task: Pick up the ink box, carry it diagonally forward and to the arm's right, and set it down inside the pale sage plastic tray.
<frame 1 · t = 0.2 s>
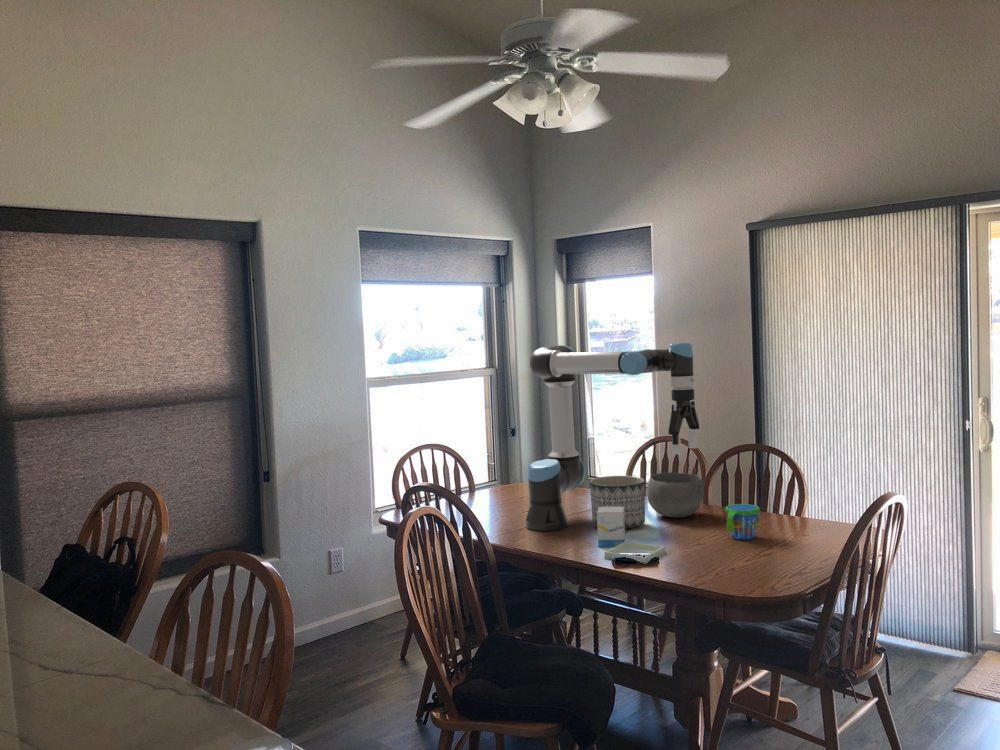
hand: (685, 451, 279), 28 cm above the table, fingers open, 13 cm apart
tray: (635, 555, 255), on the table
ink box: (611, 544, 270), on the table
snack cup: (743, 538, 269), on the table
planter: (619, 527, 293), on the table
bowl: (676, 517, 304), on the table
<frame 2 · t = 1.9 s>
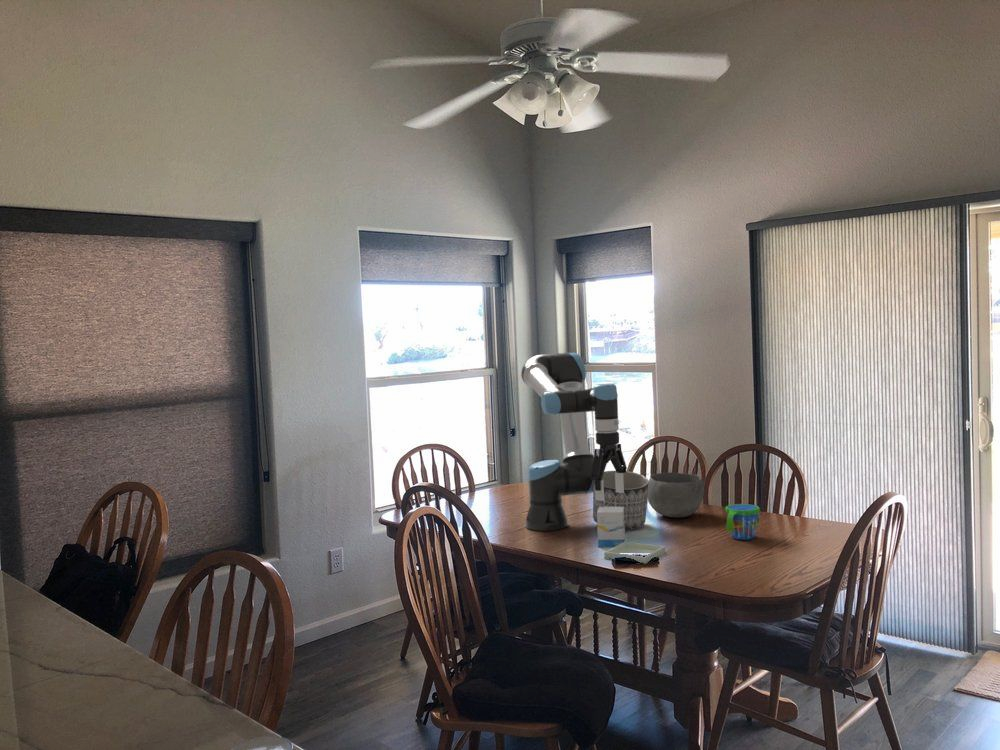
hand: (610, 496, 269), 16 cm above the table, fingers open, 13 cm apart
planter: (618, 524, 293), point 1 cm above the table, touching arm
everything else where it was.
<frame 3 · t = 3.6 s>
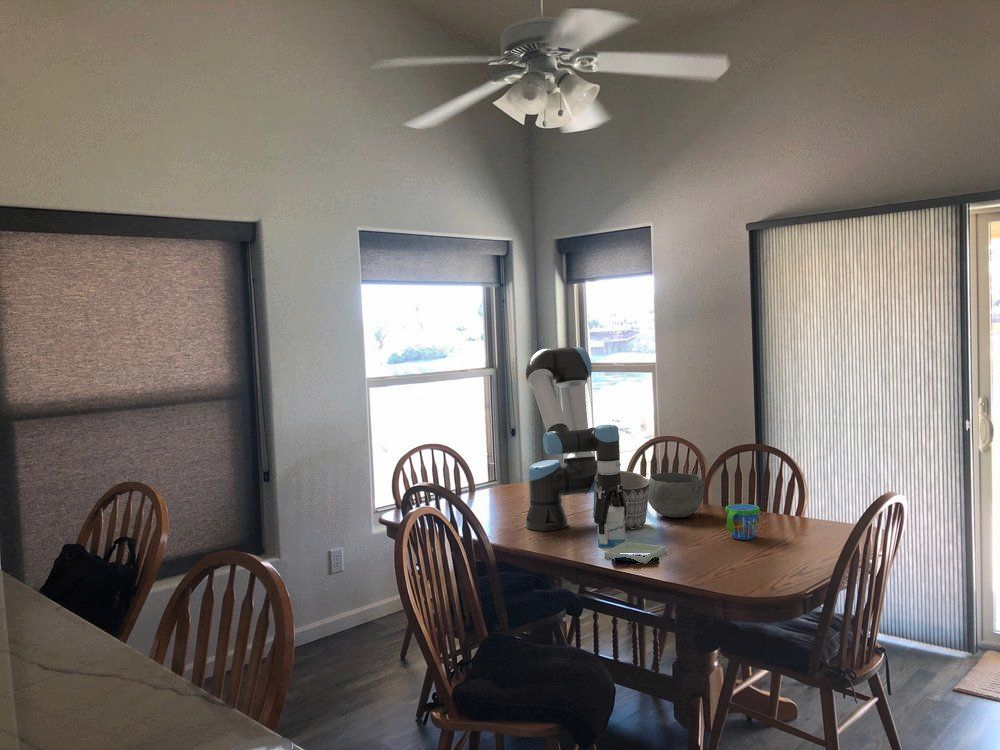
hand: (612, 539, 270), 1 cm above the table, fingers closed on ink box, 10 cm apart
ink box: (612, 544, 270), on the table, touching gripper
everything else where it was.
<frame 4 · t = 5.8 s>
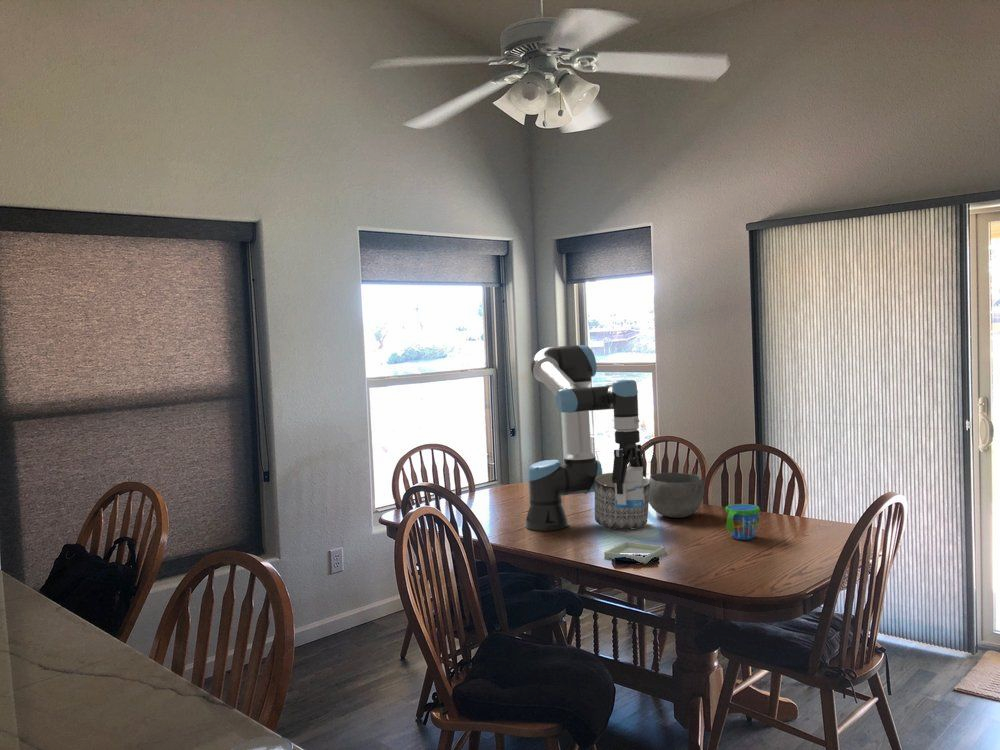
hand: (630, 501, 256), 17 cm above the table, fingers closed on ink box, 10 cm apart
ink box: (630, 506, 256), point 15 cm above the table, touching gripper
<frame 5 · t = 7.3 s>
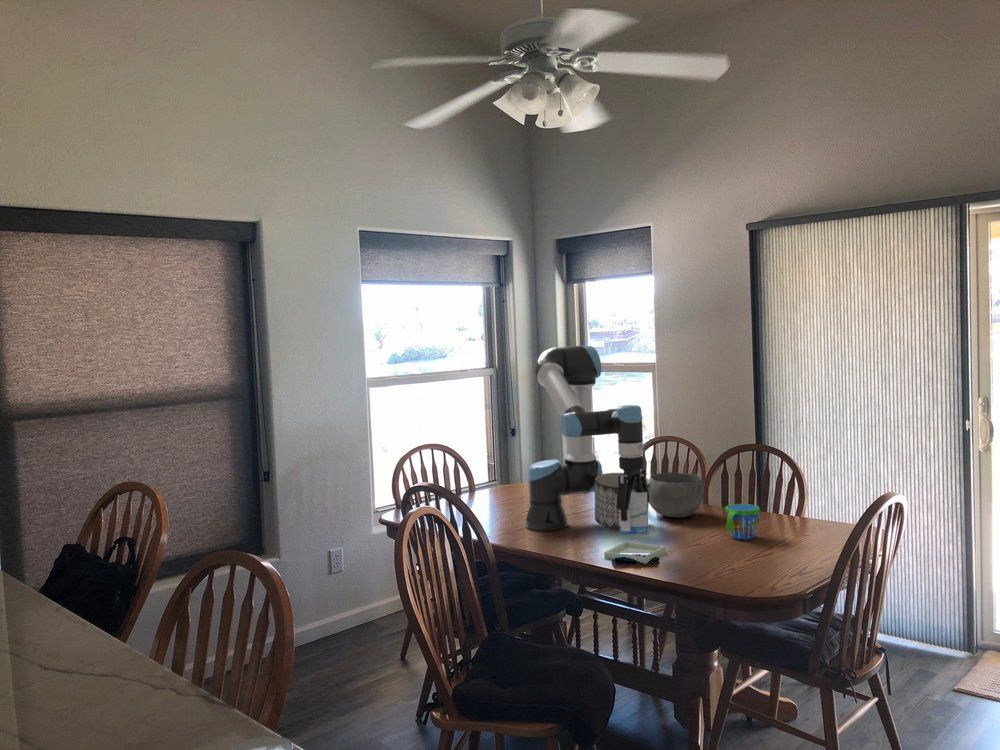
hand: (634, 527, 254), 9 cm above the table, fingers closed on ink box, 10 cm apart
ink box: (634, 532, 254), point 7 cm above the table, touching gripper
when the fingers open (4 cm above the table, at t = 8.8 s): ink box drops 2 cm, resting on tray.
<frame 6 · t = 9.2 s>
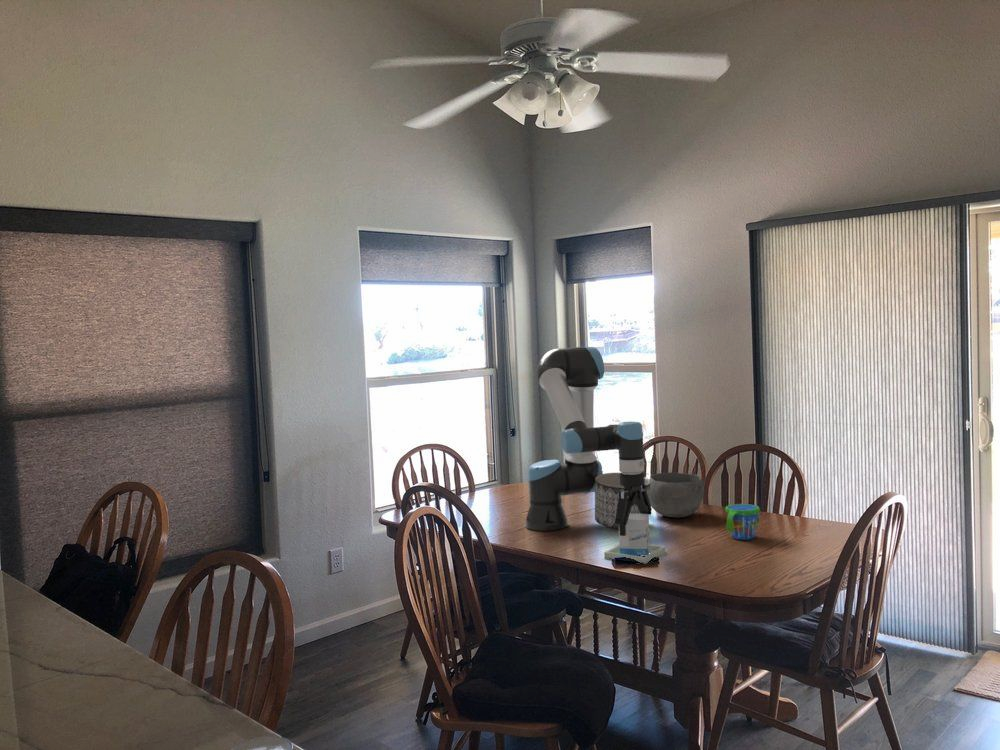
hand: (634, 540, 255), 5 cm above the table, fingers open, 13 cm apart
ink box: (635, 554, 255), resting on tray
everything else where it was.
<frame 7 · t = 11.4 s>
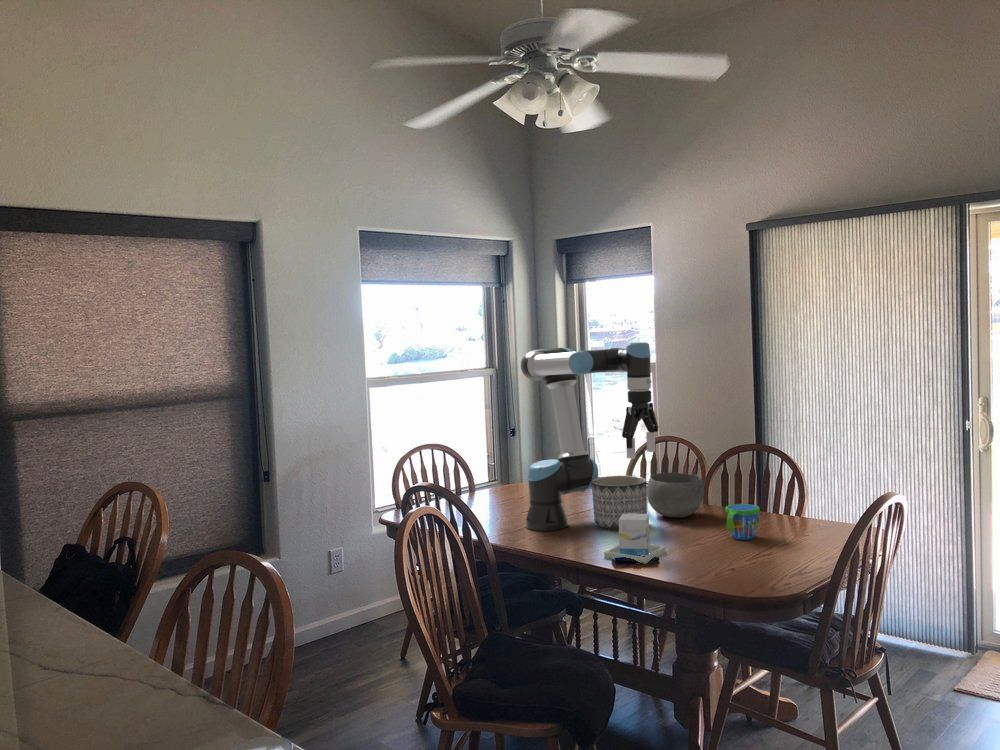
hand: (641, 455, 269), 29 cm above the table, fingers open, 13 cm apart
planter: (620, 526, 293), on the table
everything else where it was.
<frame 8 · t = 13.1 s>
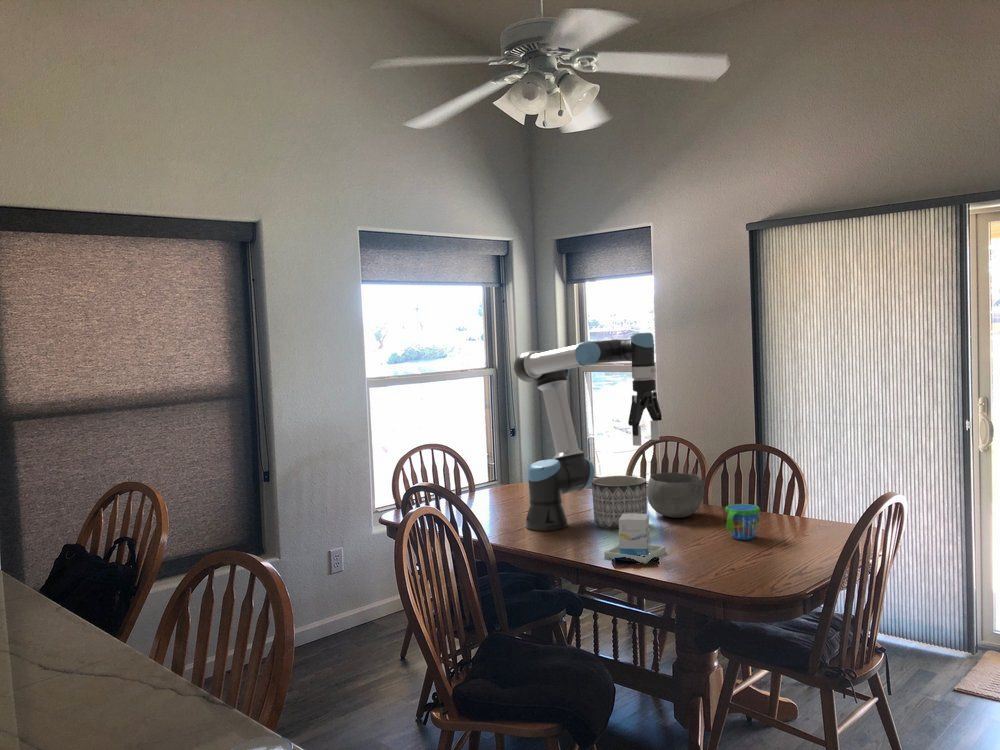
hand: (646, 442, 275), 32 cm above the table, fingers open, 13 cm apart
nothing on the table moved.
at the end: ink box inside the target area on the tray (0.4 cm from its centre), point 0.4 cm above the tray's base; ink box tilted 0°; the gripper is holding nothing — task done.
